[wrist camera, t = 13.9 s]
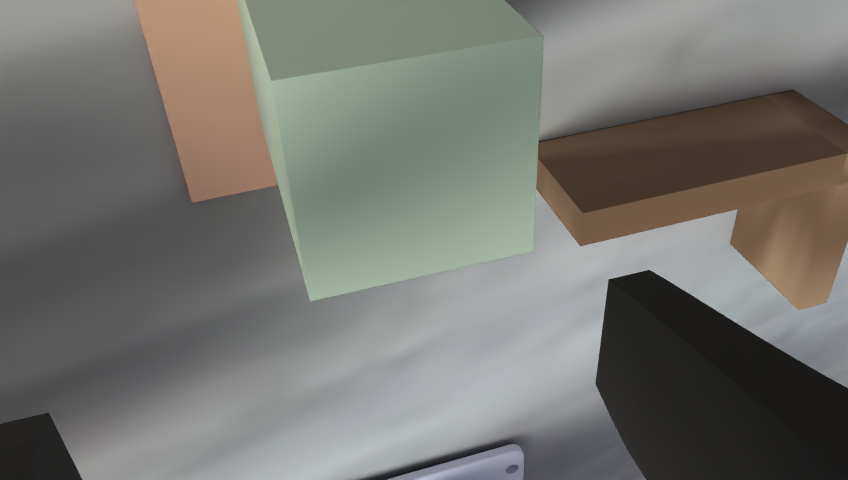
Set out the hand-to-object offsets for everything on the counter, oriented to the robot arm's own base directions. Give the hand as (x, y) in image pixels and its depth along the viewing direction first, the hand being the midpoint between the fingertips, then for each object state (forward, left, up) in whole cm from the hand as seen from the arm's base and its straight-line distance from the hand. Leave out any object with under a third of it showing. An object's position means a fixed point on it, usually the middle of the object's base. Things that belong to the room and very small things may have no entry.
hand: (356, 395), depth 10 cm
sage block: (+1, -2, -10) cm, 10 cm away
